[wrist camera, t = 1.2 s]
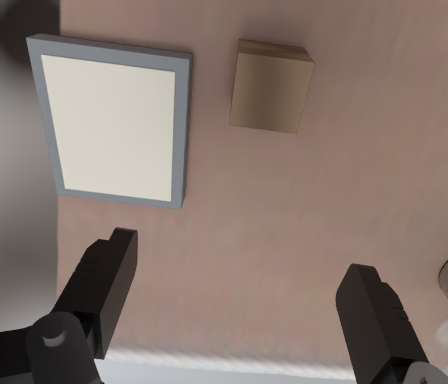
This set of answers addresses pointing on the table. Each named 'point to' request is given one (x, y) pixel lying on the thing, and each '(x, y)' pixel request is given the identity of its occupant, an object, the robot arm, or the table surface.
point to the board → (114, 118)
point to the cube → (270, 86)
